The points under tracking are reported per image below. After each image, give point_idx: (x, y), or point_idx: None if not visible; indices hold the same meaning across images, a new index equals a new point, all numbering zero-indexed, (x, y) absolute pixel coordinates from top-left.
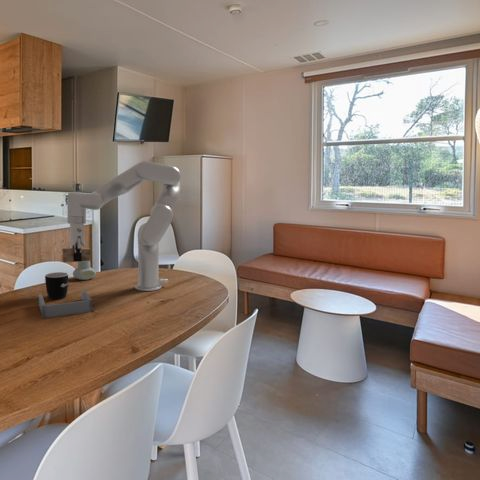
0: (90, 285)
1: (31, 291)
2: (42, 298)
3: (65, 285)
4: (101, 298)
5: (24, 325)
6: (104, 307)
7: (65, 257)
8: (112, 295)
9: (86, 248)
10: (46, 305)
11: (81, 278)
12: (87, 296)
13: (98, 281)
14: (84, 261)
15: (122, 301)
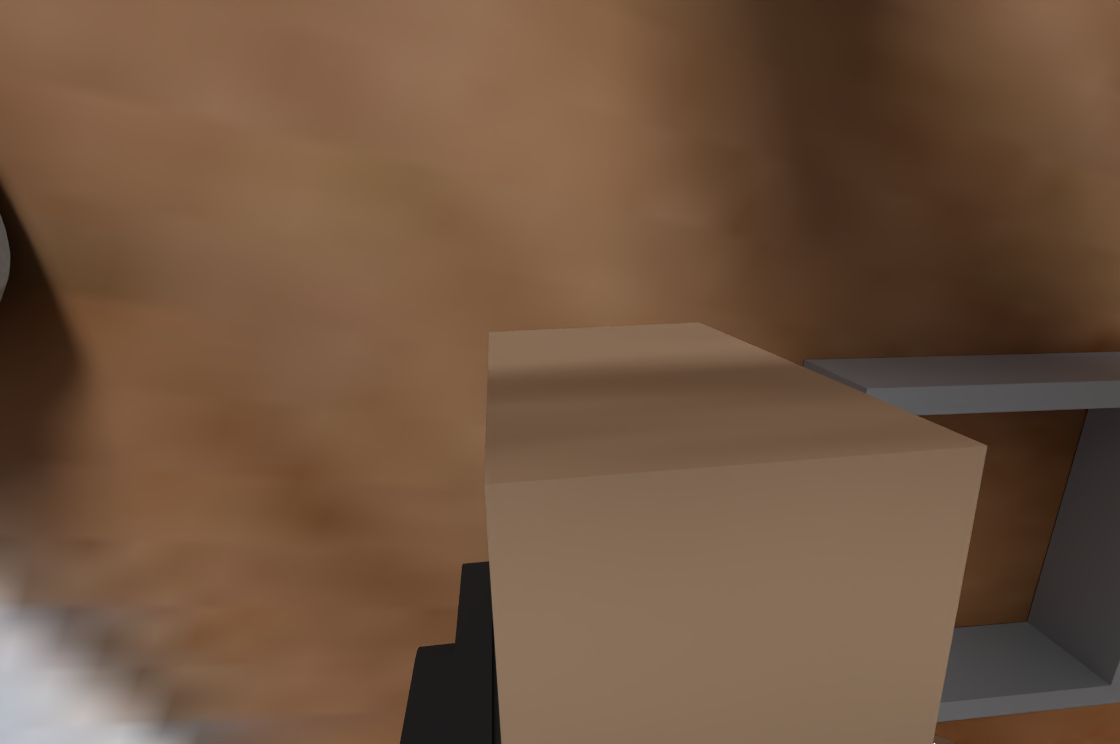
0: (302, 211)
1: (354, 719)
2: (939, 707)
3: None
4: (856, 211)
5: (1079, 710)
6: (1101, 247)
7: None
8: (821, 76)
9: (725, 625)
10: (1117, 681)
11: (5, 279)
12: (1113, 397)
13: (107, 64)
14: None
15: (1060, 40)
